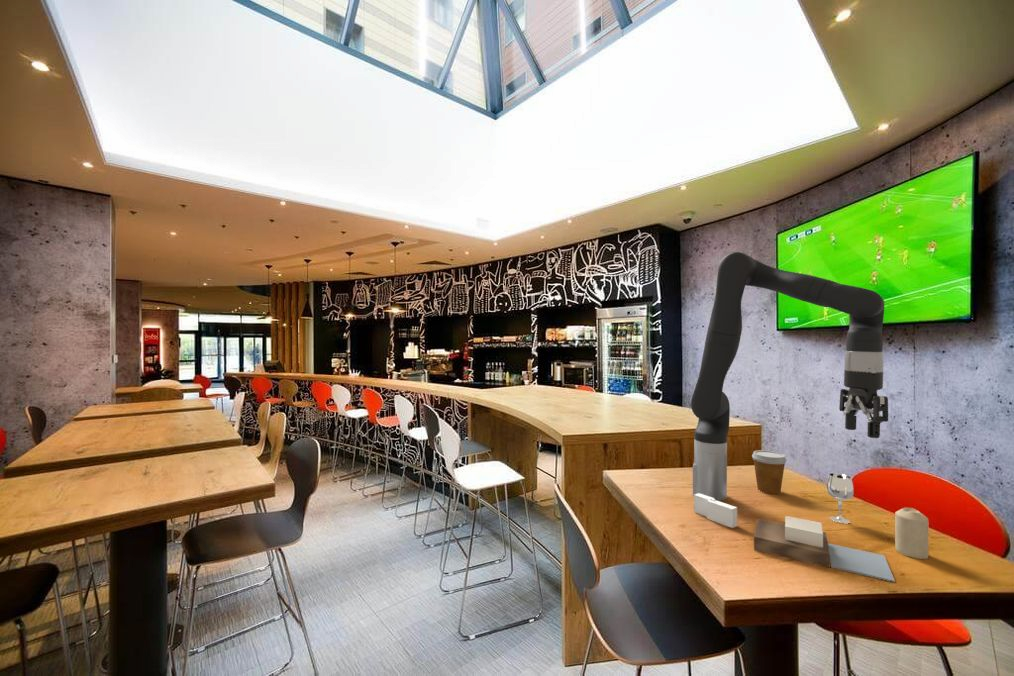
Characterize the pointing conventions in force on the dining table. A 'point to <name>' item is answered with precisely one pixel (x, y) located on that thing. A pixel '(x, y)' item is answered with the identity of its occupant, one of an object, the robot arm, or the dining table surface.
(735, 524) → the napkin holder
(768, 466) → the disposable coffee cup
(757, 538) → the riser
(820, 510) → the dining table surface
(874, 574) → the mat
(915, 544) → the candle
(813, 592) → the dining table surface
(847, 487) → the wineglass
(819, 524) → the white block
